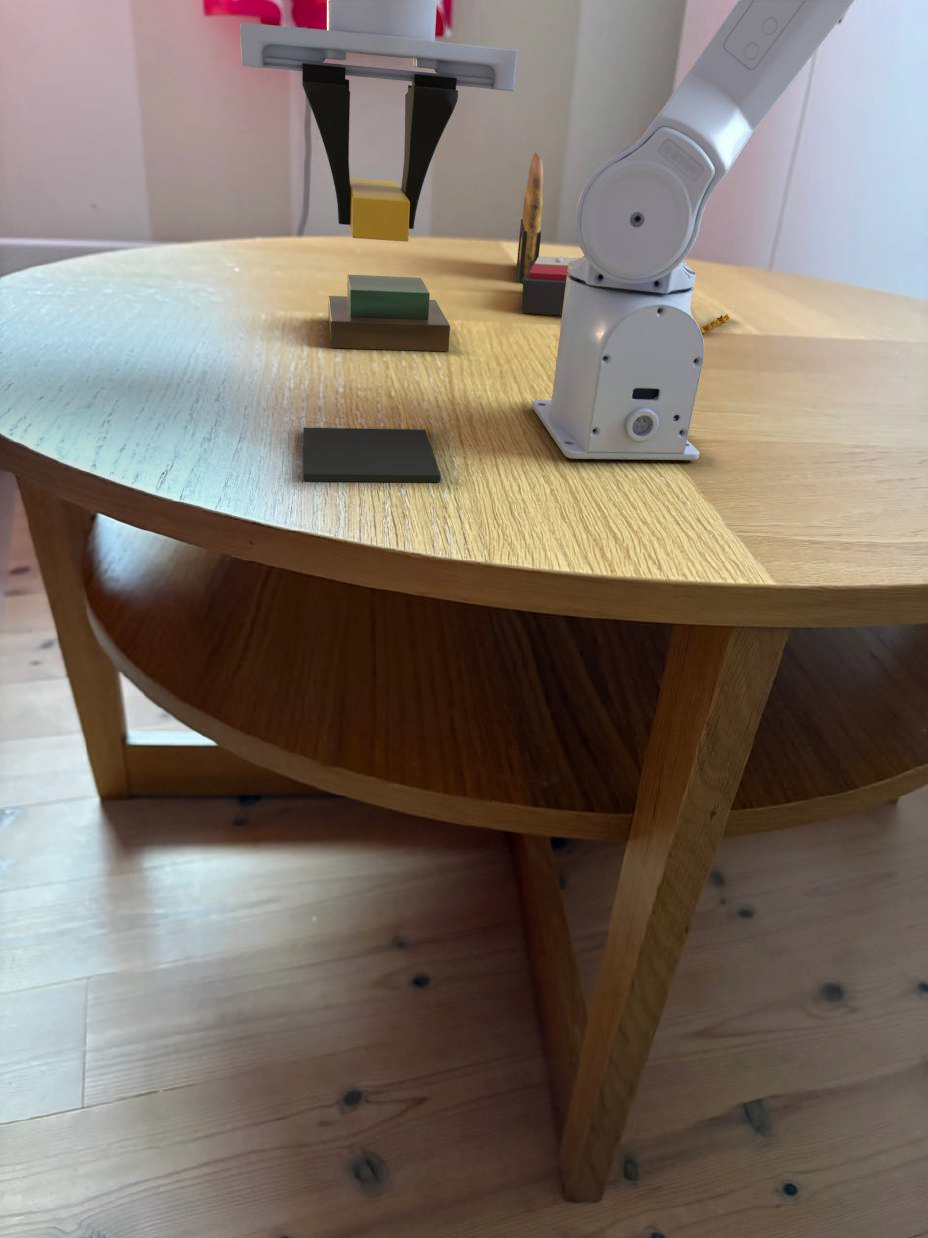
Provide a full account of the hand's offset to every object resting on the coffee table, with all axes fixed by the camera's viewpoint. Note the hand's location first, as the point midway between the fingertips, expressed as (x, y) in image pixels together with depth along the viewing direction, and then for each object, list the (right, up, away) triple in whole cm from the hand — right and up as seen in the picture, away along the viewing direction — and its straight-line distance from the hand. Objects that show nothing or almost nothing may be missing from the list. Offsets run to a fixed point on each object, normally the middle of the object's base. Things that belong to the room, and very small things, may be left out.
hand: (376, 224), depth 52 cm
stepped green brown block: (-1, 0, +20) cm, 20 cm away
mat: (0, -14, -4) cm, 15 cm away
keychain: (+28, +4, +31) cm, 42 cm away
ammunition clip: (+12, +16, +48) cm, 52 cm away
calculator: (+19, +7, +34) cm, 40 cm away
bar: (0, 0, 0) cm, 0 cm away
